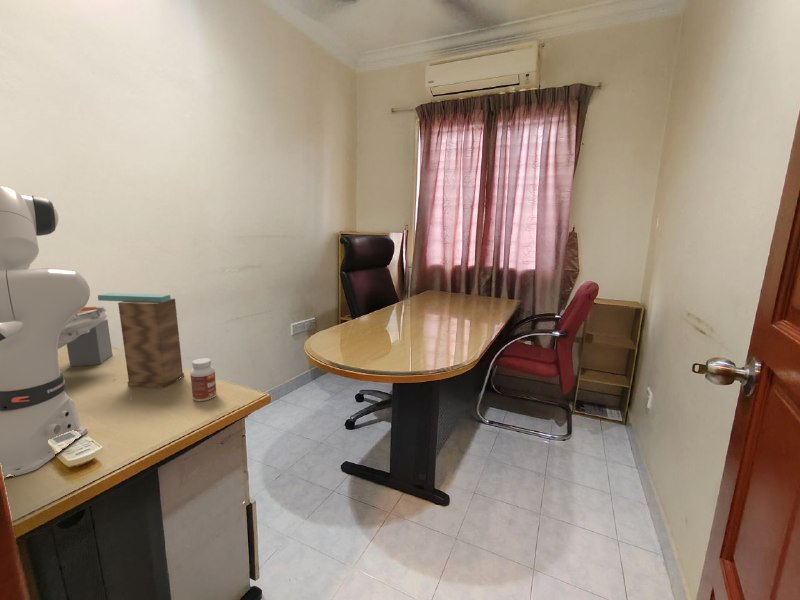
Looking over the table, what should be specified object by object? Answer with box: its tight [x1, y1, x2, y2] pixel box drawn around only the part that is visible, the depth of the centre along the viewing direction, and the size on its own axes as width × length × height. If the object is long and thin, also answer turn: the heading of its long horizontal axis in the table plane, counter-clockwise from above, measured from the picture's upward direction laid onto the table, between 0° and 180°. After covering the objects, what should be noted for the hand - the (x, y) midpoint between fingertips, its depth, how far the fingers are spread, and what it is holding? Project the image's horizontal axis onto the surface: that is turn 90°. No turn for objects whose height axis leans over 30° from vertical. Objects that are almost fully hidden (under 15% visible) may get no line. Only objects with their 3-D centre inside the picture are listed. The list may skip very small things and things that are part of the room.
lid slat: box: [97, 292, 172, 303], centre depth 113 cm, size 20×4×2 cm, turn 86°
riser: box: [66, 318, 113, 367], centre depth 133 cm, size 9×9×14 cm
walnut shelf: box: [117, 298, 185, 389], centre depth 116 cm, size 12×9×26 cm
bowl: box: [77, 306, 103, 323], centre depth 131 cm, size 9×9×5 cm
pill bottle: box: [189, 357, 217, 402], centre depth 107 cm, size 6×6×11 cm
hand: (90, 312), depth 115 cm, fingers open, 8 cm apart
